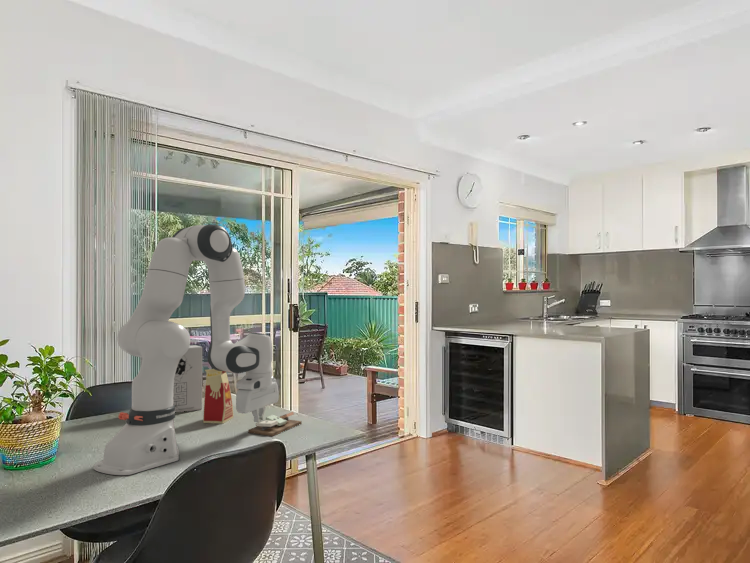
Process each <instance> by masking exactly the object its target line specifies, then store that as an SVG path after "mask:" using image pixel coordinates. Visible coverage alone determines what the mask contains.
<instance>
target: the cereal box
mask: <svg viewBox="0 0 750 563" xmlns="http://www.w3.org/2000/svg"><path fill="white" fill-rule="evenodd" d="M139 358H140V362H139V363H140V364H139V365H140V368H141V364H142V357H139ZM140 368H139V369H140ZM173 404H174V405H175V412H179V413H184V411H187V412H192V411H201V410H202V409H203V346H199V345H194V344H193V345H190V346H189V349H188V351H187V352H186V353H185V354H184V355H183V356H182V357H181V359H180V361H179V363H178V366H177V369H176V373H175V378H174V397H173Z"/></svg>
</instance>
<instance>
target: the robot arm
mask: <svg viewBox="0 0 750 563" xmlns="http://www.w3.org/2000/svg"><path fill="white" fill-rule="evenodd" d="M193 261H200V262H204V264H205V265H206V268H207V270H208V279H209V292H210V306H209V307H210V308H209V310H210V312H209V313H210V314H209V315H210V316H209V320H210V324H209V325H210V344H209V346H208V347H209V348H208V351H207V363H208V364H209V366H210V367H211V369H215V370H217V371H226V373H231V374H235V375H238V374H243V373H245V375H244V376H243V377H242V378H240V379H239V380H238V381H237V382H236V384H235V387H236V389H237V391H236V394H235V395H236V396H235V409H236V411H237V413H238V414H248V413H252V416H253V422H254V423H258V422H260V421H263V420H264V414H265V412H266V407H267V406H270V405H273V404H276V403H278V401H279V399H280V398H279V397H280V394H279V385H278V383H277V379H276V377H274V376H273V368H272V361H273V341H272V338H271V337H270V335H268V334H265V333H261V332H260V333H259V332H253V331H252V332H249V333H248V334H247V336H245V337H243V338H242V339H240V340H239V341H236V342H235V343H233V341H232V339H231V326H230V325H231V324H230V323H231V322H230V317H231V314H232V311H233V310H234V309H235V307H237V306H239V305H240V303H241V302H242V301H243V300H244V298H245V293H246V283H245V282H246V281H245V274H244V268H243V264H242V260H241V257H240V252H239V251H238V250H237V249H236V248H235V247H233V243H232V238H231V236H230V233H229V232H228V230H226V229H225V227H223V226H222V225H218V224H212V223H211V224H201V225H200V224H199V225H198V224H196V225H192V226H189V227H182V228H181V229H179V230H178V231H176V232H175V233H174V234H173V236H171V237H164V238H162V239H161V240H159V241H158V243H157V244H156V246H155V249H154V251H153V253H152V256H151V259H150V262H149V266H148V270H147V273H146V277H145V281H144V286H143V290H142V293H141V296H140V299H139V301H138V303H137V305H136V307H135V309H134V311H133V312H132V314H131V316H130V317H129V319H128V321H126V322H125V324H123V325H122V326H121V327H120V329H119V331H118V332H117V338H116V339H117V344H118V346H119V348H120V349H121V350H122V351H123V352H125V353H127V354H129V355H131V356H133V357H138V358H140V357H142V364H141V368H139V371H138V372H137V375H136V376H135V377H134V378H133V379H132V381H131V407H130V409H129V412H123V411H121V412H119V414H118V416H117V417H118V419H119V420H123V421H125V424H124V425H123V426H122V428H121V429H119V431H118V432H116V434H115V435H113V437H112V438H111V439H110V440H109V441H108V442H107V443H106V444H105V447H104V451H103V458H102V459H103V460H100V461H97V462H95V463H94V464H93V469H94V470H95V471H97V472H99V473H103V474H106V475H107V474H108V475H115V476H129V475H130V476H131V475H134V474H137V473H140V472H143V471H147V470H151V469H154V468H158V467H160V466H164V465H167V464H170V463H174V462H177V461H179V459H180V458H179V455H180V450H179V448H178V443H177V437H176V429H175V421H174V420H175V418H176V413H175V405H174V404H173V397H174V378H175V373H176V369H177V366H178V363H179V361H180V359H181V357H182V356H183V355H184V354H185V353H186V352H187V351H188V349H189V346H191V335H190V332H189V330H187V328H186V327H184V325H182V324H179V323H176V322H174V321H172V320H171V321H170V318H171V317H172V315H173V313H174V312H175V310H177V309H178V308H179V307H180V306H181V305H182V303H183V300H184V296H185V291H186V286H187V281H188V278H189V277H188V276H189V273H190V272H189V271H190V267H191V265H192V263H193Z"/></svg>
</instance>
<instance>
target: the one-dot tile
mask: <svg viewBox="0 0 750 563" xmlns="http://www.w3.org/2000/svg"><path fill="white" fill-rule="evenodd" d="M276 424H278V421H267V420H264V419H263V420H261V421H259V422H255V427H257V426H266V427H271V426H274V425H276Z"/></svg>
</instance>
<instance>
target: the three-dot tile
mask: <svg viewBox="0 0 750 563" xmlns="http://www.w3.org/2000/svg"><path fill="white" fill-rule="evenodd" d="M293 415H295V413H294V411H291V412H289V413H286V414H283V415H280V416H279V417H280V418H282V419H284V418H286V417H288V418H289V417H292V416H293Z"/></svg>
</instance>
